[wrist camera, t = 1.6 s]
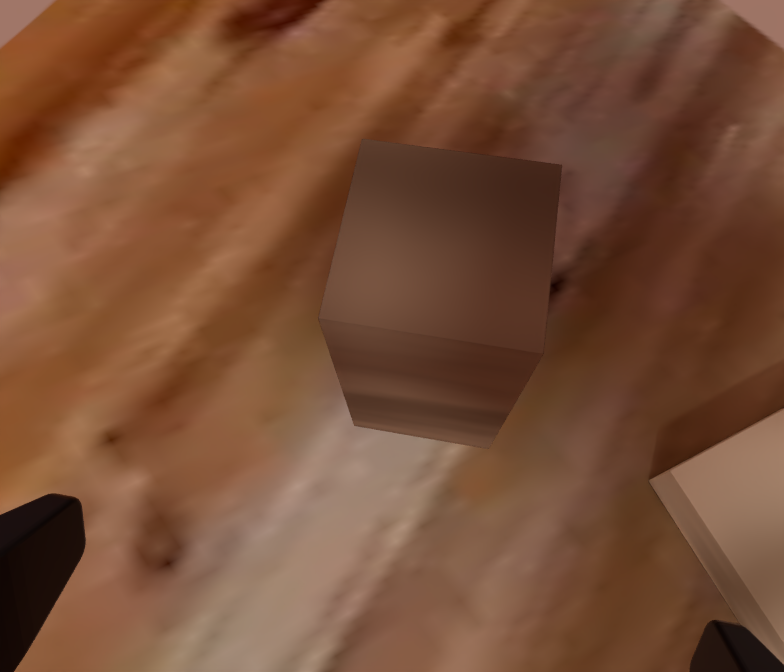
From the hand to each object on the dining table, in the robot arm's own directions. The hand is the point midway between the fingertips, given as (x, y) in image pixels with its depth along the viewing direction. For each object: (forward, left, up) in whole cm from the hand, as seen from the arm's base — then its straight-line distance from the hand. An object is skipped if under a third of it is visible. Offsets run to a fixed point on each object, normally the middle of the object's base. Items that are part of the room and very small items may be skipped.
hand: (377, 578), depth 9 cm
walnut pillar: (+6, -5, -13) cm, 15 cm away
